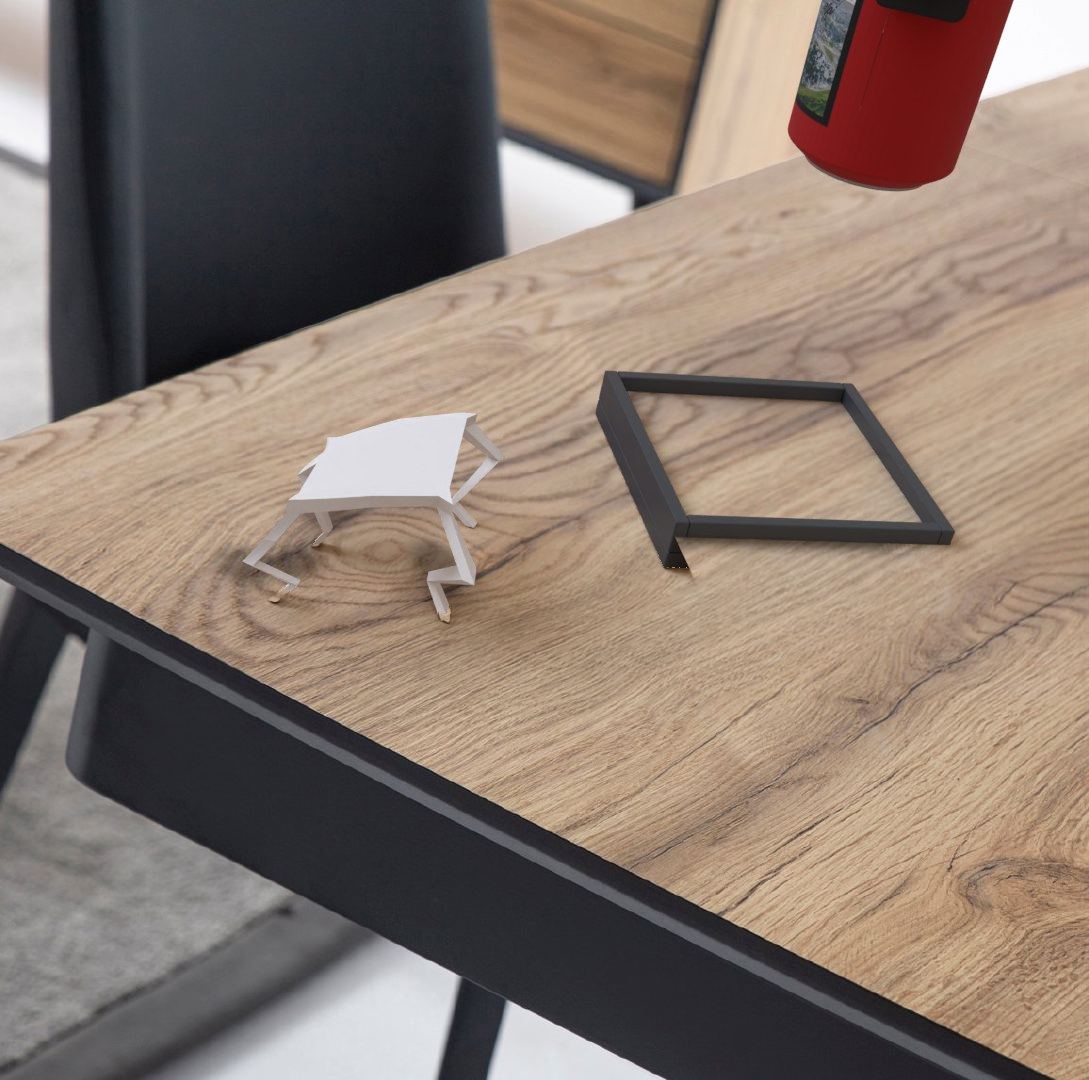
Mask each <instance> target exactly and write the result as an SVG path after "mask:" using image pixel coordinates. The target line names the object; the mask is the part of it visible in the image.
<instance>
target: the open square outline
mask: <svg viewBox="0 0 1089 1080" xmlns="http://www.w3.org/2000/svg"><path fill="white" fill-rule="evenodd" d="M601 382H602V383H601V385H600V386H601V387H600V391H599V397H598V400H597V405H596V409H595V412H594V413H595V416H596V418H597V421H598V422H599V423H598V424H599V425H600V427H601V429H602V433H603V434H604V436H605V438H606V441H607V443H608V445H609V447H610V450H611V452H612V455H613V457H614V459H615V461H616V463H617V466H618V468H619V470H620V472H621V475H622V477H623V480H624V481H625V484H626V486H627V489H628V491H629V493H630V496H631V498H632V500H633V502H634V504H635V506H636V508H637V511H638V514H639V515H640V518H641V520H642V522H643V525H644V528H645V529H646V531H647V534H648V535H649V538H650V541H651V543H652V545H653V547H654V550H655V552H656V551H657V552H656V553H657V556H658V555H659V556H658V559H659V560H661V561H660V563H661V562H662V563H661V565H662V564H663V565H662V567H663V566H664V567H669V568H668V569H673V568H672V567H675V568H674V569H679V567H680V568H686V567H687V568H690V566H689V564H688V562H687V560H686V557H685V555H684V552H683V551H682V548H681V547H680V545H679V542H678V540H677V538H697V539H698V538H700V539H701V538H702V539H730V540H732V539H733V540H764V541H766V540H767V541H797V542H799V541H800V542H829V543H830V542H833V543H859V544H860V543H861V544H862V543H863V544H893V545H894V544H899V545H930V546H937V545H938V546H951V543H952V541H953V538H954V537H955V534H956V530H955V529H954V527H953V526H952V523H951V522H950V521H949V519H948V518H947V517H946V515H945V514H944V512H943V511H942V510H941V509H940V506H939V505H938V503H937V502H936V501H935V499H934V498H933V497H932V496H931V494H930V492H929V491H928V489H927V488H926V486H925V485H924V484H923V483H922V481H921V480H920V478H919V477H918V475H917V473H916V472H915V471H914V470H913V468H912V467H911V465H910V463H909V462H908V461H907V459H906V458H905V457H904V455H903V454H902V452H901V450H900V449H899V448H898V446H897V445H896V443H895V442H894V441H893V439H892V437H891V436H890V435H889V433H888V432H887V431H886V429H885V428H884V426H883V425H882V424H881V422H880V421H879V420H878V418H877V416H876V415H875V414H874V412H873V410H872V409H871V408H870V406H869V404H868V403H867V402H866V401H865V399H864V398H863V396H862V394H861V393H860V392H859V391H858V389H857V387H856V386H855V385H854V384H853V383H851V382H831V381H813V380H797V379H796V380H793V379H777V378H776V379H775V378H774V379H773V378H756V377H740V376H739V377H738V376H737V377H736V376H721V375H720V376H719V375H702V374H701V375H699V374H698V375H697V374H681V373H662V372H661V373H660V372H646V371H645V372H644V371H643V372H641V371H624V370H623V371H622V370H618V371H617V370H605V371H604V373H603V378H602V381H601ZM628 392H631V393H632V392H634V393H649V394H650V393H652V394H653V393H654V394H673V395H693V396H710V397H711V396H713V397H731V398H732V397H733V398H734V397H735V398H751V399H769V400H770V399H771V400H790V401H791V400H792V401H793V400H794V401H809V402H811V401H812V402H830V403H831V402H832V403H841V405H842V406H843V407H844V409H845V411H846V412H847V413H848V415H849V416H850V417H851V419H852V421H853V422H854V423H855V425H856V427H857V428H858V429H859V431H860V432H861V434H862V435H863V437H864V438H865V440H866V441H867V443H868V444H869V446H870V447H871V449H872V450H873V452H874V453H875V455H876V456H877V458H878V459H879V461H880V462H881V463H882V465H883V466H884V468H885V470H886V471H887V472H888V474H889V475H890V477H891V478H892V480H893V482H894V484H896V486H897V487H898V489H899V490H900V492H901V493H902V495H903V496H904V498H905V499H906V501H907V503H908V504H909V505H910V507H911V508H912V510H913V511H914V512H915V514H916V515H917V517H918V519H919V520H920V521H919V522H916V521H893V520H891V521H889V520H863V519H860V520H858V519H829V518H828V519H826V518H802V517H801V518H800V517H799V518H798V517H771V516H769V517H768V516H766V517H765V516H743V515H742V516H739V515H709V514H707V515H706V514H687V513H686V512H685V509H684V507H683V504H682V503H681V502H680V499H679V497H678V495H677V492H676V490H675V489H674V485H672V482H671V480H670V478H669V477H668V474H667V472H666V470H665V467H664V466H663V464H662V461H661V459H660V457H659V456H658V453H657V451H656V449H655V447H654V445H653V443H652V441H651V438H650V437H649V435H648V432H647V431H646V429H645V426H644V424H643V422H642V420H641V418H640V416H639V414H638V412H637V409H636V408H635V405H634V404H633V401H632V399H631V397H630V395H629V393H628ZM664 567H663V568H664Z"/></svg>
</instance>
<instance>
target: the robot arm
mask: <svg viewBox="0 0 1089 1080" xmlns="http://www.w3.org/2000/svg"><path fill="white" fill-rule="evenodd" d="M876 2H877V4H879V5H880V6H882V7H885V8H889V9H893V10H898V11H902V12H906V13H911V14H915V15H919V16H924V17H928V18H933V19H937V20H941V21H946V22H950V23H956V22H959V21H961V20H962V19H963V18H964V17H965V15H966V12H967V9H968V6H969V3H970V0H876Z"/></svg>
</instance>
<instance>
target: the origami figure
mask: <svg viewBox="0 0 1089 1080" xmlns="http://www.w3.org/2000/svg"><path fill="white" fill-rule="evenodd" d="M477 418H478V413H474V412H465V411H464V412H462V411H461V412H452V413H441V414H432V415H423V416H413V417H404V418H397V419H394V420H391V421H388V422H383V423H379V424H375V425H373V426H369V427H366V428H363V429H359V430H356V431H353V432H350V433H347V434H343V435H340V436H332V437H329V436H327V438H326V444H325V449H324V450H323V451H322V452H321V453H320V454H319V455H317V456H316V457H315V458H313V459H312V460H311V461H310V462H309V463H307V464H306V465H305V466H304V467H303V468H302V469H301V470H300V472H299V473H298V474H297V478H298V479H299V482H300V484H301V488H300V490H299V492H297V493H296V494H295V495H293V496H291V497H290V498H289V499H287V503H286V509H285V514H284V515H283V516H282V518H281V519H280V520H278V522H277V523H276V524H275V525H274V526H273V528H272V529H271V530H270V531H269V532H268V533H267V534H266V536H265V537H264V538H263V539H262V540H261V541H260V542H259V543H258V544H257V545H256V546H255V547H254V548H253V549H252V551H250V552H249V554H248V555H246V557H244V559H242V561H241V562H242V563H244V564H247V565H249V566H250V567H252V568H255V569H257V570H259V571H261V572H263V573H265V574H267V575H269V576H272V577H273V578H275V579H278V580H279V581H281V582H283V583H286V585H285V586H286V587H285V588H284V589H287V590H290V592H292V591H293V590H294V589H295V588H297V587H298V585H300V582H301V579H299V578H297V577H295V576H293V575H291V574H288V573H286V572H285V571H282V570H280V569H278V568H276V567H274V566H272V565H269V564H268V563H265V562H263V561H262V560H260V559H262V557H263V556H264V555H266V554H267V553H268V552H269V550H271V549H272V547H273V546H274V545H275V544H276V543H278V541H279V540H280V539H281V538H283V536H285V534H286V533H287V532H288V531H289V530H290V529H291V528H292V527H293V526H294V525H295V523H296V522H297V521H298V520H299V519H300V518H301V517H302V516H303V514H310V513H313V514H314V516H315V518H316V520H317V522H318V525H319V528H320V529H321V532H322V533H321V534H320V535H319V536H318V537H317V538H316V539H315V540H314V541H315V542H314V541H313V542H314V543H313V542H312V543H313V544H319V543H321V544H322V543H323V541H324V540H325V539H326V537H328V535H329V534H330V532H331V531H332V530H333V528H334V526H333V523H332V520H331V516H330V514H329V512H338V511H339V512H340V511H349V510H359V509H373V508H374V509H376V508H378V509H379V508H408V507H409V508H413V507H418V508H419V507H436V509H437V512H438V515H439V518H440V520H441V524H442V526H443V530H444V532H445V535H446V538H447V541H448V544H449V547H450V550H451V553H452V555H453V558H454V561H455V564H456V565H451V566H446V567H442V568H437V569H434V570H429V571H428V572H427V578H426V583H427V586H428V589H429V592H430V595H431V598H432V602H433V604H434V607H435V609H436V612H437V613H438V612H440V613H445V614H442V615H446V614H447V612H448V611H447V610H448V609H447V608H448V607H449V606H450V604H449V601H448V599H447V596H446V594H445V592H444V589H443V586H442V585H441V584H445V585H446V584H449V585H464V586H475V585H476V577H477V567H476V564H475V562H474V560H473V558H472V555H471V552H470V551H469V548H468V546H467V544H466V541H465V538H464V536H463V535H462V532H461V529H460V527H459V525H458V522H457V520H456V517H457V518H458V519H459V520H460V522H462V524H463V525H464V526H465V527H469V528H473V529H475V528H476V526H477V524H478V521H477V520H476V519H475V518H474V517H473V516H472V515H471V514H470V513H469V512H468V511H467V509H466V508H465V507H464V506H463V505H462V504H461V503H460V501H461V500H462V499H463V498H464V497H465V496H466V495H467V494H468V493H469V492H470V491H471V490H472V489H473V488H474V487H475V486H476V485H477V484H478V483H479V482H480V481H481V480H482V479H483V478H484V477H485V476H486V475H487V474H488V473H489V472H490V471H491V470H493V468H495V466H497V464H499V463H500V461H502V459H504V457H505V455H504V454H503V453H502V451H500V449H499V448H498V447H497V446H496V445H495V443H494V442H493V441H492V439H490V438H489V436H488V435H487V434H486V433H485V432H484V431H483V429H481V428H480V426H479V425H478V424H477V423H476V421H477ZM463 439H465V440H466V441H467V442H468V443H470V444H471V445H472V446H473V447H475V448H476V449H478V451H480V452H481V453H482V454H484V455H485V456H486V457H487V458H486V459H485V460H484V461H483V463H482V464H481V465H480V466H479V467H478V468H477V469H476V470H475V471H474V473H473V474H472V475H471V476H470V477H469V478H468V479H467V480H466V481H465V483H464V484H463V485H462V486H461V487H460V488H459V490H458V491H457V492H456V493H455V494H454V495H453V496H452V493H451V490H450V488H451V485H452V482H453V481H452V480H453V477H454V472H455V469H456V465H457V460H458V456H459V453H460V448H461V446H462V445H461V444H462V440H463ZM454 514H455V515H454ZM455 516H456V517H455Z"/></svg>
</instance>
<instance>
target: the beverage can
mask: <svg viewBox="0 0 1089 1080" xmlns="http://www.w3.org/2000/svg"><path fill="white" fill-rule="evenodd" d="M1014 1H1015V0H970V3H969V6H968V9H967V12H966V15H965V17H964V18H963V19H962V20H961V21H959V22H956V23H950V22H946V21H941V20H937V19H933V18H928V17H924V16H919V15H915V14H911V13H906V12H902V11H898V10H893V9H889V8H885V7H882V6H880V5H879V4H877V2H876V0H821V2H820V5H819V9H818V13H817V17H816V19H815V20H816V21H815V24H814V27H813V30H812V35H811V39H810V42H809V46H808V50H807V53H806V56H805V60H804V63H803V67H802V72H801V75H800V80H799V83H798V87H797V91H796V94H795V99H794V103H793V106H792V110H791V114H790V116H789V117H790V118H789V121H788V125H787V134H788V137H789V139H790V140H791V143H793V144H794V146H795V147H796V148H797V149H798V150H799V151H800V152H801V153H802V154H803V155H804V157H805V159H806V161H807V162H808V163H809V164H810V165H811V166H812V167H813V168H815V169H816V170H817V171H819V172H821V173H822V174H824V175H827V176H828V177H831V178H832V179H835V180H836V181H837V180H838V181H839V182H843V183H845V184H849V185H852V186H854V187H855V186H856V187H860V188H864V189H869V190H874V191H883V192H898V193H899V192H908V191H909V192H910V191H914V190H917V189H919V188H921V187H923V186H925V185H928V184H932V183H935V182H938V181H940V180H943V179H945V178H947V177H949V176H950V175H951V174H952V173H953V172H954V170H955V168H956V165H957V163H958V160H959V158H960V154H961V151H962V150H963V146H964V144H965V140H966V137H967V135H968V132H969V129H970V127H971V124H972V121H973V118H974V115H975V113H976V110H977V107H978V104H979V101H980V98H981V97H982V93H983V90H984V87H985V85H986V82H987V79H988V76H989V73H990V71H991V67H992V64H993V62H994V59H995V56H996V53H997V51H998V47H999V44H1000V41H1001V39H1002V36H1003V33H1004V30H1005V27H1006V24H1007V21H1008V19H1009V15H1010V13H1011V10H1012V7H1013V4H1014Z"/></svg>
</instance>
